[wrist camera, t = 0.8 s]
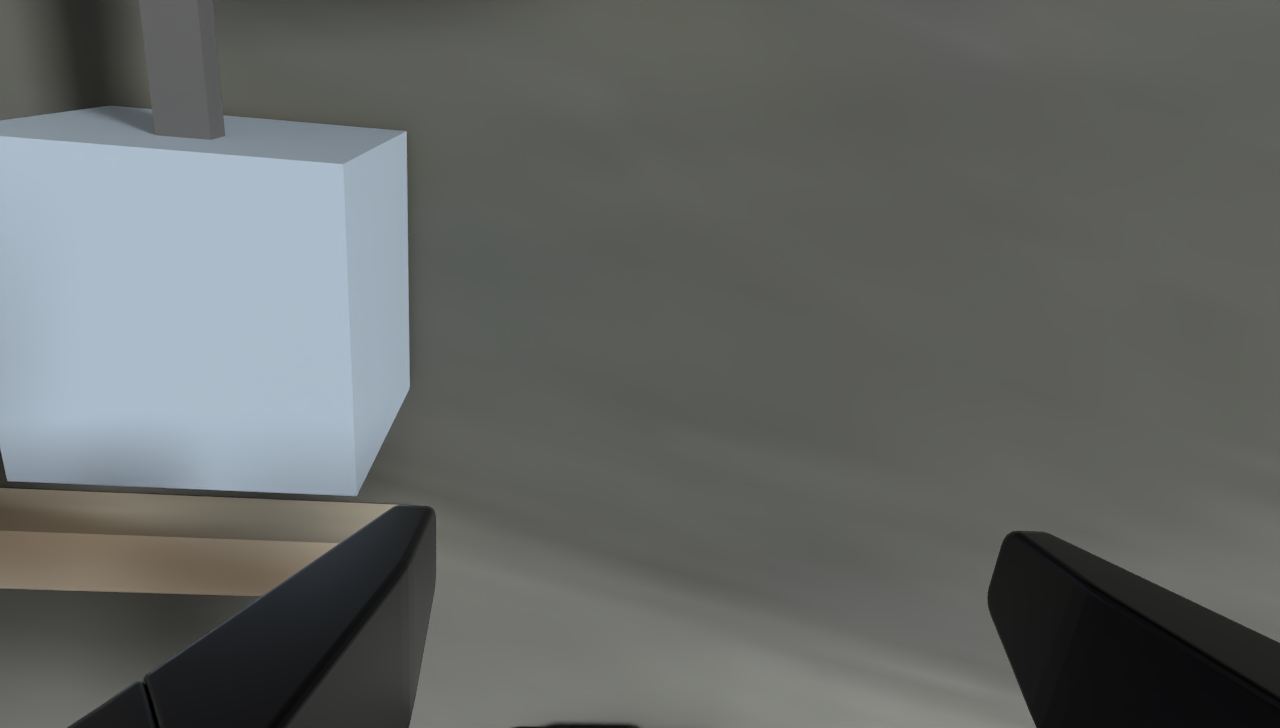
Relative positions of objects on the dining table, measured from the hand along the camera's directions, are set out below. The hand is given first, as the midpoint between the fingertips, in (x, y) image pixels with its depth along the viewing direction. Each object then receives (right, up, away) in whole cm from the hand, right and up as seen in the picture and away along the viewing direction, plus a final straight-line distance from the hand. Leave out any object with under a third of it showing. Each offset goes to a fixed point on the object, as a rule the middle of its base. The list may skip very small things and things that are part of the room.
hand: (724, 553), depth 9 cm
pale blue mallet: (-9, +8, +8) cm, 14 cm away
